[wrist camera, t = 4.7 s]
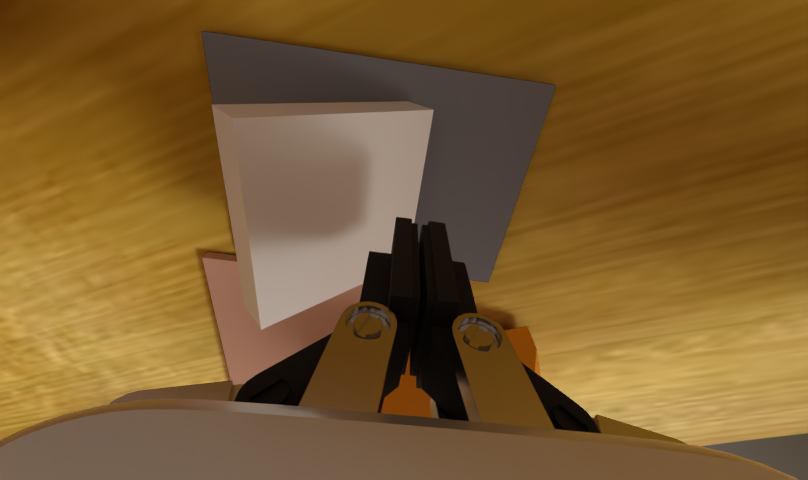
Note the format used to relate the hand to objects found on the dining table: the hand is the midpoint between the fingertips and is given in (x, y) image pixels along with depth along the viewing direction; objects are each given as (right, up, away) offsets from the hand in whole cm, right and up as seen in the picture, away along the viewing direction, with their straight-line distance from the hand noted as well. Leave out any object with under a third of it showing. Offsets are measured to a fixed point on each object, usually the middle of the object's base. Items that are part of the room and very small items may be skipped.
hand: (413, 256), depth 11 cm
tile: (0, +3, +5) cm, 6 cm away
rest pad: (-8, -7, +12) cm, 16 cm away
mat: (-2, +4, +6) cm, 7 cm away
